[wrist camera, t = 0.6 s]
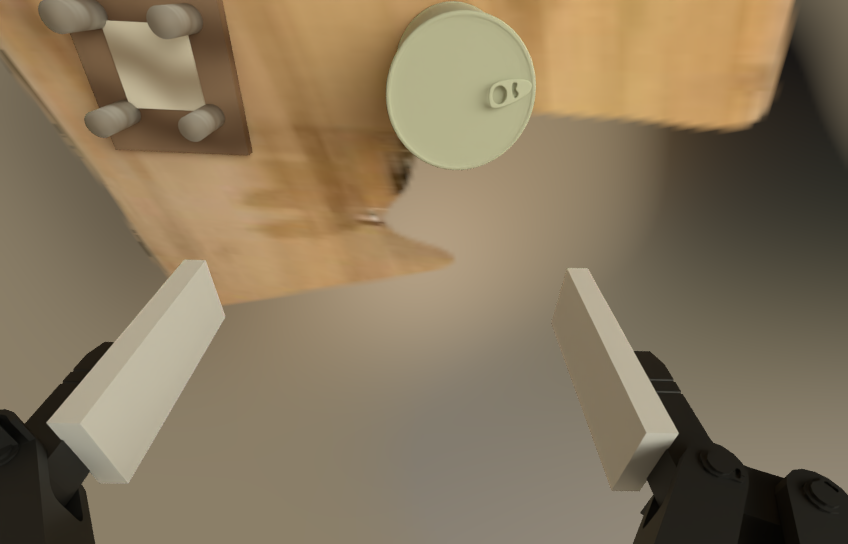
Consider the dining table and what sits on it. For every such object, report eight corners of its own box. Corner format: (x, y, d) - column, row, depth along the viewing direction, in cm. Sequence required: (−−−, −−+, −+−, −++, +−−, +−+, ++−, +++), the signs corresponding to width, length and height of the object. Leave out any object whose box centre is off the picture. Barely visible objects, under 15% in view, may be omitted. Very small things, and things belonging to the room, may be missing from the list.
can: (509, 113, 36) (540, 161, 27) (407, 131, 37) (401, 184, 28) (501, -11, 31) (537, -8, 21) (384, 14, 32) (366, 28, 22)
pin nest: (5, -161, 26) (-72, -187, 22) (192, -149, 27) (150, -173, 23) (122, 145, 38) (86, 165, 34) (252, 151, 38) (231, 171, 34)
